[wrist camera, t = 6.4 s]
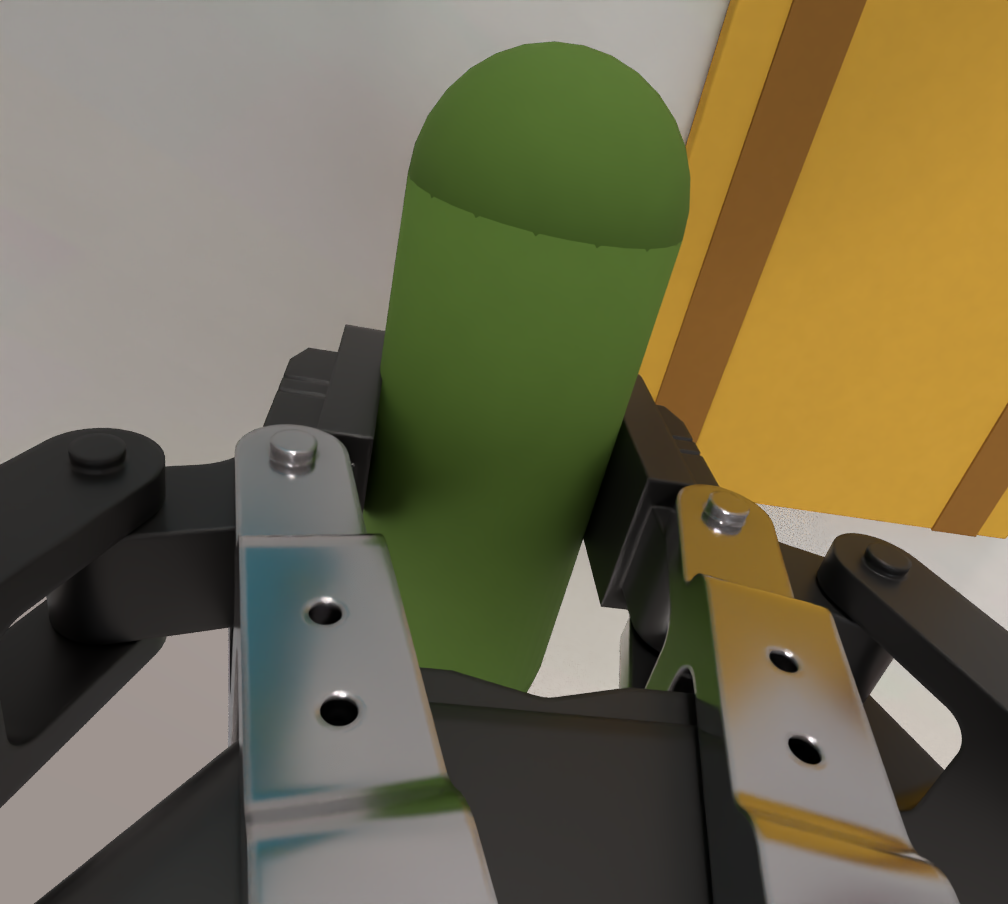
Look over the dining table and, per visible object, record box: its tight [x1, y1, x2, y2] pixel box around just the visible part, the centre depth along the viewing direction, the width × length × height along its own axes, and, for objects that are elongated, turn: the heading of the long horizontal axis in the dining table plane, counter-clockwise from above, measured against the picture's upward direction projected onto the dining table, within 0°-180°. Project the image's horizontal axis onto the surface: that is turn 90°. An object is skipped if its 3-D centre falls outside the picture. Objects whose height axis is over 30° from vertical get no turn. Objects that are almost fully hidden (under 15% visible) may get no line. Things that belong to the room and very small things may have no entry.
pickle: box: [363, 42, 690, 693], centre depth 12 cm, size 4×11×4 cm, turn 168°
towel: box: [638, 0, 1008, 539], centre depth 19 cm, size 14×22×1 cm, turn 168°
